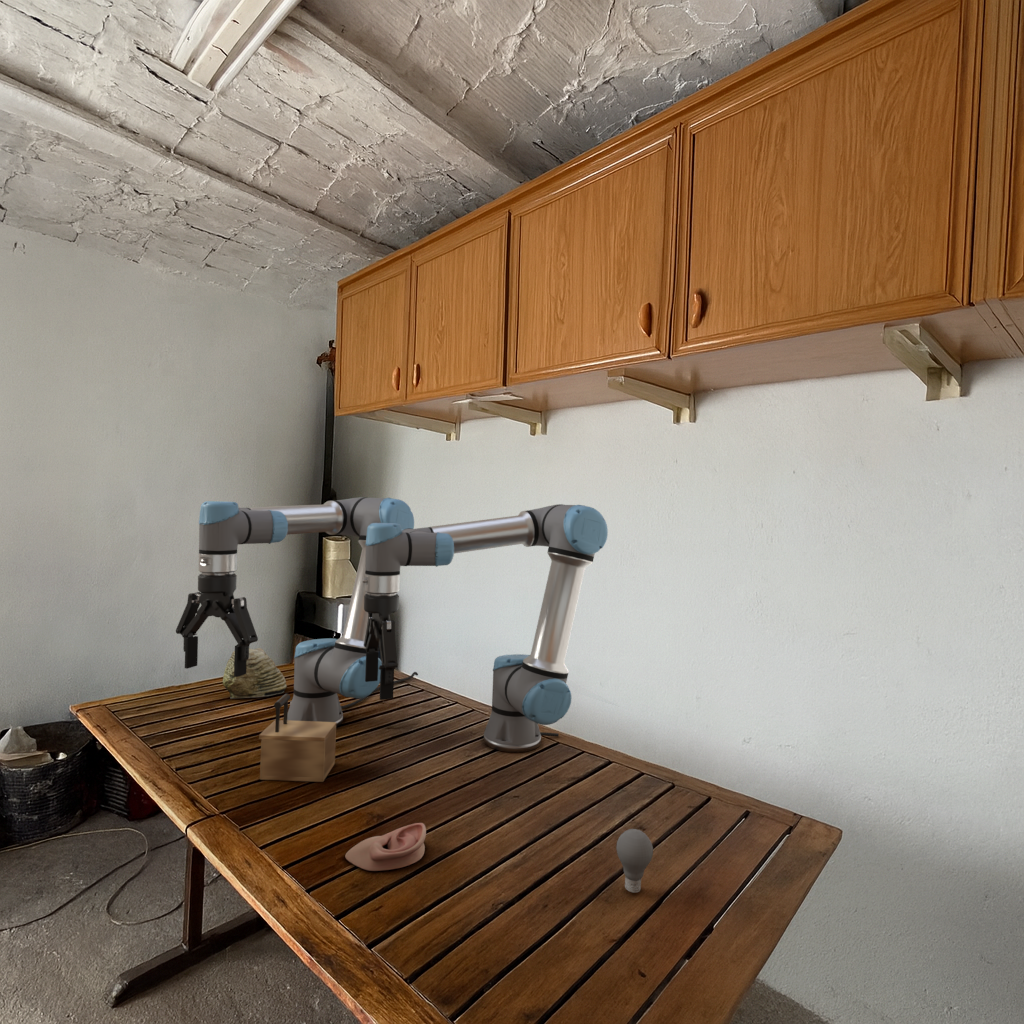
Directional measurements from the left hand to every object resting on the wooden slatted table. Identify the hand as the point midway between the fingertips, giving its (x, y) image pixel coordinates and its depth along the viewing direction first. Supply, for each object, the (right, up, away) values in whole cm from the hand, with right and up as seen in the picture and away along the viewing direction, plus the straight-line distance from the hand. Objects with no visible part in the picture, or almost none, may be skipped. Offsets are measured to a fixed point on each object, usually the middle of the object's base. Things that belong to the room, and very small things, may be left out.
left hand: (215, 671), depth 137 cm
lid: (+15, -16, +9) cm, 24 cm away
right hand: (+35, -5, +3) cm, 35 cm away
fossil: (-16, -23, +61) cm, 68 cm away
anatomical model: (+42, -27, -23) cm, 55 cm away
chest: (+15, -25, +9) cm, 31 cm away
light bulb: (+84, -29, -31) cm, 94 cm away
